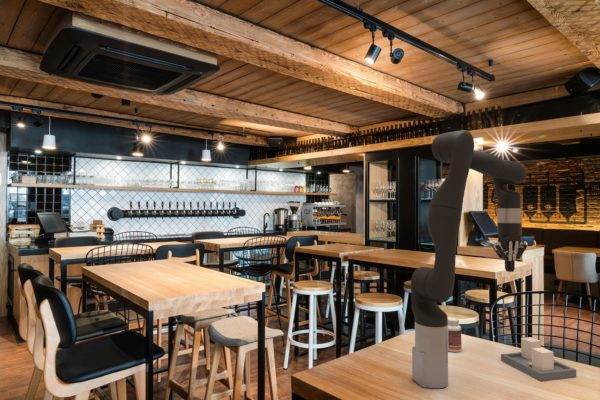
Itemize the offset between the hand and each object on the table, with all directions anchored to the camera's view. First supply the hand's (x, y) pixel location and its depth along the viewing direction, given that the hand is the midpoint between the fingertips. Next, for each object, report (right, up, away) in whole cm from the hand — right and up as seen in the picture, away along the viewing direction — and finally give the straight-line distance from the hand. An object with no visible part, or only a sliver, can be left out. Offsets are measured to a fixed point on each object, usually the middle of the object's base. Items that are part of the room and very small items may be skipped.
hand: (509, 271), depth 136 cm
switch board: (+3, -29, -11) cm, 31 cm away
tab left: (+4, -27, -6) cm, 28 cm away
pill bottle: (-18, -29, +5) cm, 35 cm away
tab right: (+1, -27, -16) cm, 32 cm away
